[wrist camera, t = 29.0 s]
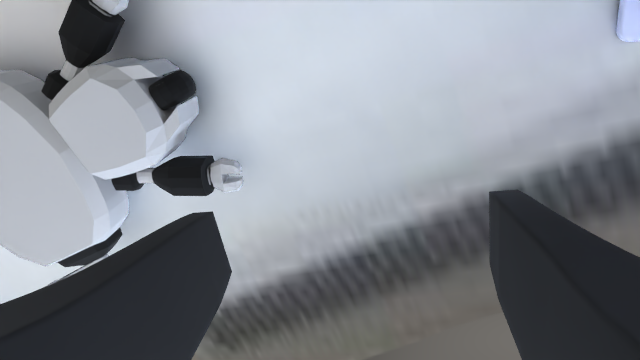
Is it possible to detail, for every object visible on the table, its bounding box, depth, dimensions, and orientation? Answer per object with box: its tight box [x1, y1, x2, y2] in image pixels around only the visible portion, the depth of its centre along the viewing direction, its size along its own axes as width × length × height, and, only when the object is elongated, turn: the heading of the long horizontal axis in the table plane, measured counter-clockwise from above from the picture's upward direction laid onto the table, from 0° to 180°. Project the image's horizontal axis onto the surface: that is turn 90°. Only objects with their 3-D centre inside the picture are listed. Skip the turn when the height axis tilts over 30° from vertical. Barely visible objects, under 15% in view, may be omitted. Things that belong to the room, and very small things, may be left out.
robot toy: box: [0, 0, 244, 285], centre depth 21 cm, size 12×4×15 cm
